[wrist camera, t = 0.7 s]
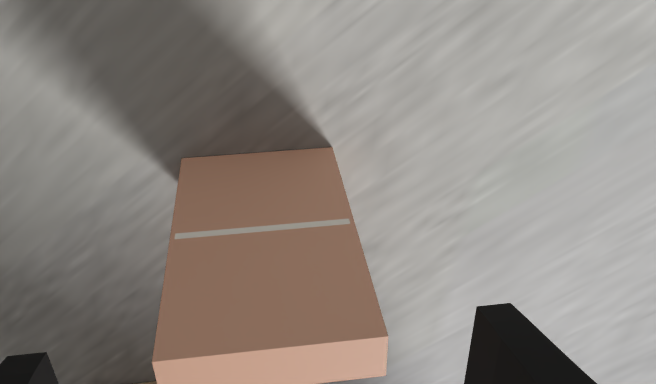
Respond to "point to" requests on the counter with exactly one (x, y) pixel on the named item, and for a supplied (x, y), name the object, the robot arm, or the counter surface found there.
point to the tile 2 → (148, 382)
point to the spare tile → (266, 276)
